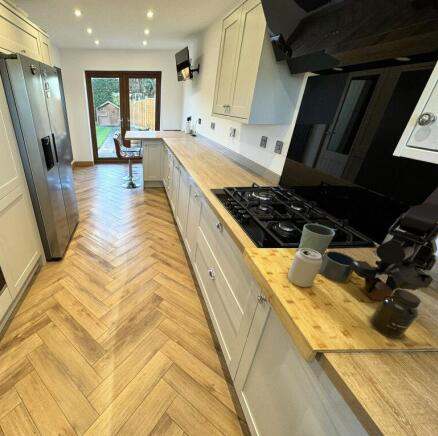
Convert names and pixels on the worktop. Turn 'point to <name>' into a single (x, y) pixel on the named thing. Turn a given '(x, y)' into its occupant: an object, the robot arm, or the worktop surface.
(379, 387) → the worktop surface
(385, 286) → the brown cube
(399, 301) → the supplement bottle
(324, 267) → the cup
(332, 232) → the green tapered tumbler
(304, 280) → the can
